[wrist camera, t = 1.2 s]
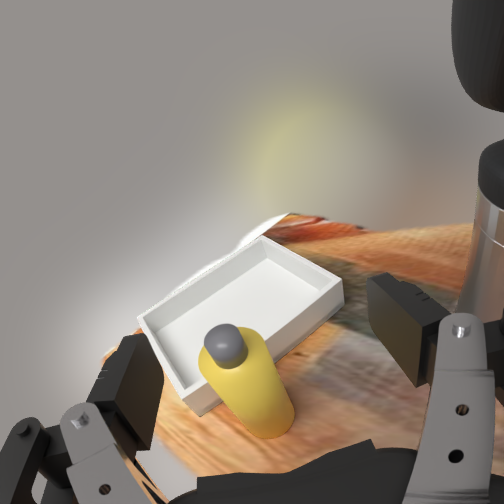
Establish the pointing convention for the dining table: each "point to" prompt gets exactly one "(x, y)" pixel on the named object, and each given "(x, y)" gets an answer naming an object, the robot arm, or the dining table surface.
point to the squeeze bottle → (246, 379)
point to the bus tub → (240, 311)
